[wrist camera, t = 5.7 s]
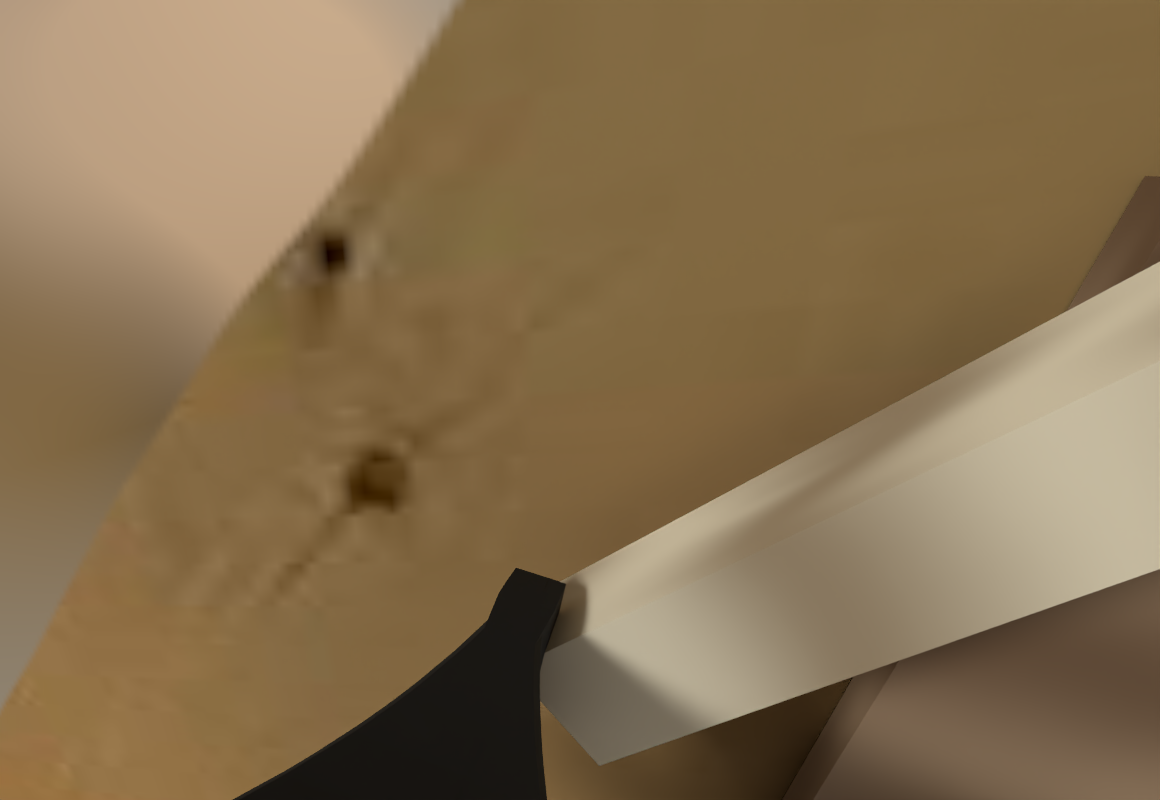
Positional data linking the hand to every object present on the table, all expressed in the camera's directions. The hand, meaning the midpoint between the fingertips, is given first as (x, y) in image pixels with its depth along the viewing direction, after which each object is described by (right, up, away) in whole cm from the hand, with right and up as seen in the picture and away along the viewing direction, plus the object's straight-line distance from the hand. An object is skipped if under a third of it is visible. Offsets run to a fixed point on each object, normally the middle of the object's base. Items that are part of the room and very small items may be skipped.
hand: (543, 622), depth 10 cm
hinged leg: (+5, +3, -1) cm, 6 cm away
